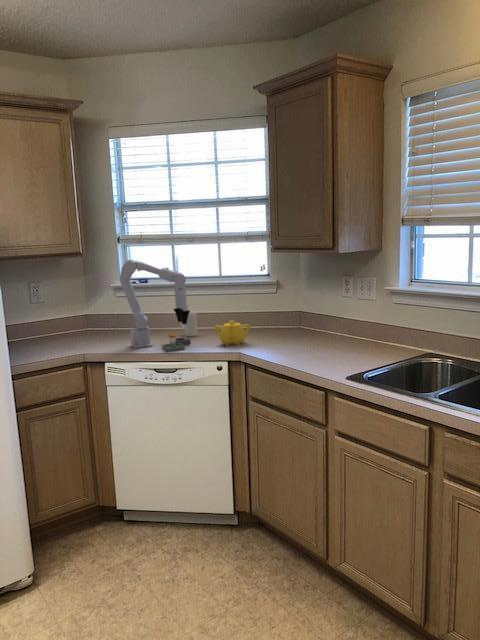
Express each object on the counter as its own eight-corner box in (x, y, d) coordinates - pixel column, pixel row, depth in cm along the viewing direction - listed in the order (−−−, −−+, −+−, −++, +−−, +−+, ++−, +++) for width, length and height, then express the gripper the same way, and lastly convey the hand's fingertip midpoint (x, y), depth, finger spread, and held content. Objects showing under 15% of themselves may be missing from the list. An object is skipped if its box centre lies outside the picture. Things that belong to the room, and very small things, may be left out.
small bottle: (176, 348, 268) (175, 334, 267) (170, 348, 267) (169, 334, 266) (175, 346, 271) (174, 333, 269) (169, 347, 270) (168, 333, 269)
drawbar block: (173, 346, 274) (173, 341, 274) (170, 343, 281) (169, 339, 280) (190, 344, 277) (190, 339, 277) (186, 341, 284) (186, 337, 283)
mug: (199, 334, 301) (198, 312, 299) (193, 336, 295) (192, 315, 293) (184, 333, 306) (183, 312, 304) (178, 335, 300) (176, 314, 298)
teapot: (212, 345, 274) (211, 322, 271) (233, 339, 283) (231, 317, 281) (231, 348, 264) (230, 324, 262) (252, 343, 274) (251, 320, 272)
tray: (166, 351, 263) (166, 348, 263) (162, 348, 272) (162, 344, 271) (184, 349, 267) (184, 346, 266) (179, 346, 275) (179, 342, 275)
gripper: (192, 297, 273) (194, 324, 275) (184, 294, 286) (185, 319, 288) (178, 299, 270) (180, 325, 273) (171, 295, 283) (172, 321, 286)
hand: (182, 322), depth 280 cm, fingers open, 7 cm apart
